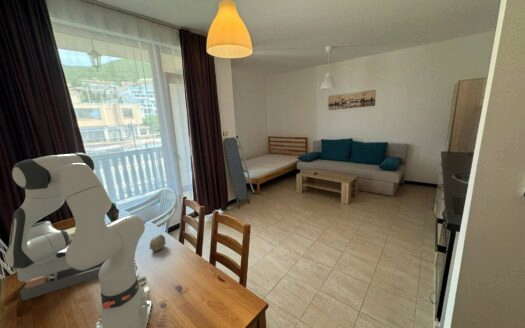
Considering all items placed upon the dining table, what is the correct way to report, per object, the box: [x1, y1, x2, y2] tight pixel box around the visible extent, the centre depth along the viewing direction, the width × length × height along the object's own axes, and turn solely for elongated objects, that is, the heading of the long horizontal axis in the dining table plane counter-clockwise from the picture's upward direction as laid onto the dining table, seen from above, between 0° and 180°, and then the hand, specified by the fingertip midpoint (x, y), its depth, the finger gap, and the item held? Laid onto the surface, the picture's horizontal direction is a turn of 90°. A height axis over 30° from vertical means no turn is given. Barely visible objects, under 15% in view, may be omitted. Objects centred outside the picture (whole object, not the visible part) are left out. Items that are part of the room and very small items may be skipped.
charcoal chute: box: [19, 261, 105, 302], centre depth 102 cm, size 9×32×4 cm, turn 120°
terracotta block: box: [24, 276, 49, 289], centre depth 96 cm, size 6×6×4 cm
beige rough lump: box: [149, 234, 167, 252], centre depth 124 cm, size 9×8×10 cm
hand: (53, 280), depth 98 cm, fingers closed
